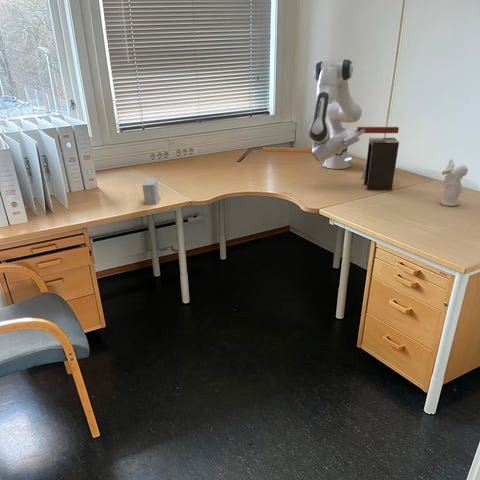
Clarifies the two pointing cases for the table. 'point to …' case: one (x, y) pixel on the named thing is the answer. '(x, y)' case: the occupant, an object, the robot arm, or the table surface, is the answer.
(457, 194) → the cherub figurine
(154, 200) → the cosmetics box
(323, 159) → the robot arm
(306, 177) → the table surface
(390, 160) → the stand
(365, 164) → the medicine box
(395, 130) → the red block
